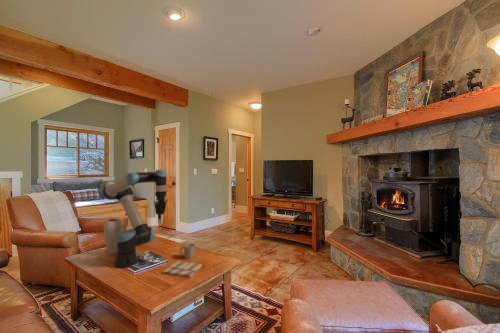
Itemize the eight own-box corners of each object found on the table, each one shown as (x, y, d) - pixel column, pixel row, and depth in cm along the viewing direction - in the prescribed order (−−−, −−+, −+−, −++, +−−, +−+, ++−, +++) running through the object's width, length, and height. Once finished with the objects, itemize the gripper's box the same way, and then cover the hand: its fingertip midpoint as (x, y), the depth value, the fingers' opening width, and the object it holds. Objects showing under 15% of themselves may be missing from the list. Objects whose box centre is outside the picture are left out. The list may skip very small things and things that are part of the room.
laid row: (161, 274, 156) (161, 271, 156) (175, 263, 172) (175, 261, 172) (191, 279, 150) (191, 276, 150) (203, 267, 167) (203, 265, 167)
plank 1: (169, 269, 163) (169, 267, 162) (176, 262, 171) (176, 260, 171) (181, 270, 160) (181, 268, 160) (188, 264, 169) (188, 262, 169)
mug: (191, 260, 178) (192, 247, 178) (176, 259, 181) (176, 246, 180) (196, 256, 186) (196, 244, 186) (181, 255, 189) (182, 242, 189)
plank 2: (182, 271, 160) (182, 269, 160) (189, 264, 169) (189, 262, 169) (195, 273, 158) (195, 270, 157) (201, 266, 166) (201, 264, 166)
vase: (125, 251, 193) (125, 219, 193) (108, 257, 182) (108, 223, 182) (116, 248, 200) (116, 217, 200) (99, 253, 189) (100, 220, 189)
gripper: (159, 192, 165) (159, 225, 166) (170, 190, 178) (170, 221, 178) (150, 191, 167) (150, 224, 168) (161, 189, 180) (161, 220, 180)
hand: (160, 223), depth 173 cm, fingers closed
